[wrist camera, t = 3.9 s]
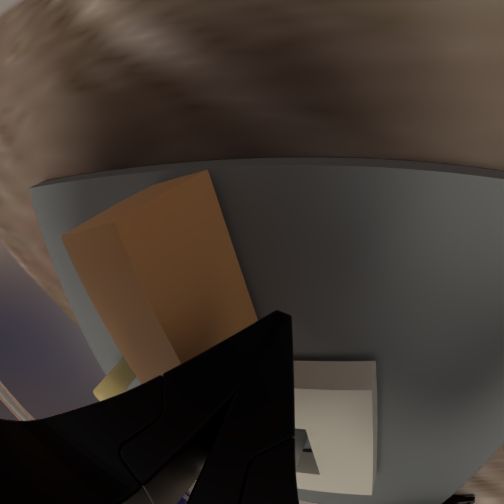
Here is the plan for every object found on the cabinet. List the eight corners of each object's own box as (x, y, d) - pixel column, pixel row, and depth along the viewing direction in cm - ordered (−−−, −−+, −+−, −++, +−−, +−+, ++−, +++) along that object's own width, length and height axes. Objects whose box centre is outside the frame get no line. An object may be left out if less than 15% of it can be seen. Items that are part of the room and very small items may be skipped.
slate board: (432, 501, 14) (423, 553, 11) (162, 444, 23) (135, 483, 19) (603, 192, 5) (686, 265, 1) (44, 180, 13) (-31, 218, 9)
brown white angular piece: (376, 475, 12) (361, 534, 9) (222, 455, 16) (197, 500, 13) (343, 139, 7) (313, 180, 4) (86, 207, 11) (11, 251, 8)
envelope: (28, 419, 76) (37, 424, 68) (24, 423, 74) (33, 428, 66) (-19, 364, 69) (-16, 362, 62) (-23, 367, 68) (-21, 367, 60)
